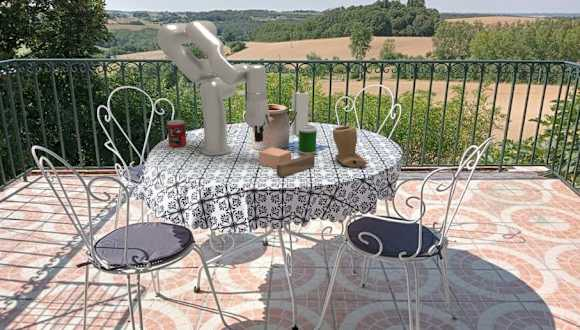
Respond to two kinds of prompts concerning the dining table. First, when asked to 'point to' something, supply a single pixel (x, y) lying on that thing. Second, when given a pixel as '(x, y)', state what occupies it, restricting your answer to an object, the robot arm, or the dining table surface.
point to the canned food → (176, 133)
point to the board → (295, 165)
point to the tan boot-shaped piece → (347, 146)
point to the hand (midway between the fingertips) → (259, 141)
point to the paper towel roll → (300, 110)
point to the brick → (273, 157)
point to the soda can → (307, 139)
